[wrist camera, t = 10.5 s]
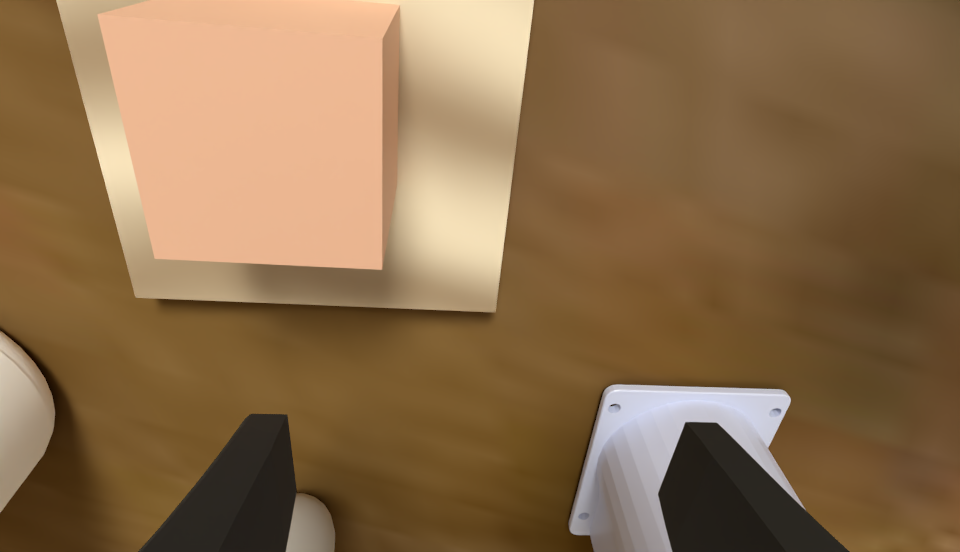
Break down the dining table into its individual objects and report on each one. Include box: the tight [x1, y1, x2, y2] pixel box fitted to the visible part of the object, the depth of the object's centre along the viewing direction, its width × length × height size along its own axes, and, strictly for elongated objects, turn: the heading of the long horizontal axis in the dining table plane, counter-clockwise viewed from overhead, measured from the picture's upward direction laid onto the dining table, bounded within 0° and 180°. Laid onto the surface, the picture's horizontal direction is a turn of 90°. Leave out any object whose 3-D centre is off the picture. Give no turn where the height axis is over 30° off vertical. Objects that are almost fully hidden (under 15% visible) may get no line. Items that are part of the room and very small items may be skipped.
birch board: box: [56, 0, 534, 312], centre depth 17 cm, size 14×12×1 cm
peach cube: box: [97, 0, 400, 270], centre depth 14 cm, size 5×5×5 cm
